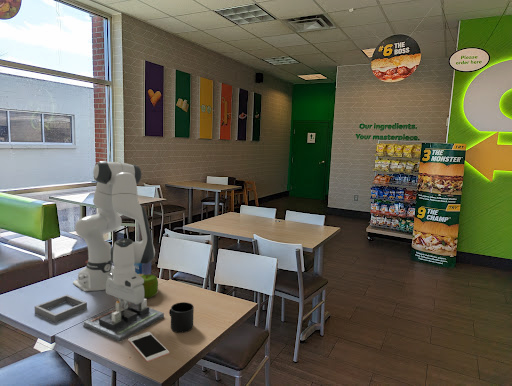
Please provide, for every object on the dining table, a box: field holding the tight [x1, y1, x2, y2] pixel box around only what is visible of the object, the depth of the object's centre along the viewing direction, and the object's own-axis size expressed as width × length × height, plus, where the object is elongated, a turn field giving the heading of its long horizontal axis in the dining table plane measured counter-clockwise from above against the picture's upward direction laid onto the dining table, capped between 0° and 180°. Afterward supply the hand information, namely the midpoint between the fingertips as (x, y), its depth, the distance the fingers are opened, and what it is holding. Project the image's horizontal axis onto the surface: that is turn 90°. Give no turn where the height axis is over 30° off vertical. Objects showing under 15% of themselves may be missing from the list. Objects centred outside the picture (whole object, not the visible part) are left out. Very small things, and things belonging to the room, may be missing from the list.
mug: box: [168, 301, 195, 334], centre depth 149 cm, size 9×12×9 cm
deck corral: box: [34, 294, 88, 323], centre depth 158 cm, size 15×15×3 cm
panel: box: [83, 298, 165, 343], centre depth 151 cm, size 22×24×8 cm
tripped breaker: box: [115, 299, 125, 311], centre depth 152 cm, size 2×3×5 cm, turn 151°
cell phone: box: [127, 331, 170, 363], centre depth 134 cm, size 9×18×1 cm, turn 41°
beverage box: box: [134, 240, 152, 276], centre depth 192 cm, size 7×11×22 cm, turn 61°
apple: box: [140, 274, 159, 299], centre depth 178 cm, size 11×11×11 cm
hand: (124, 308), depth 151 cm, fingers closed
